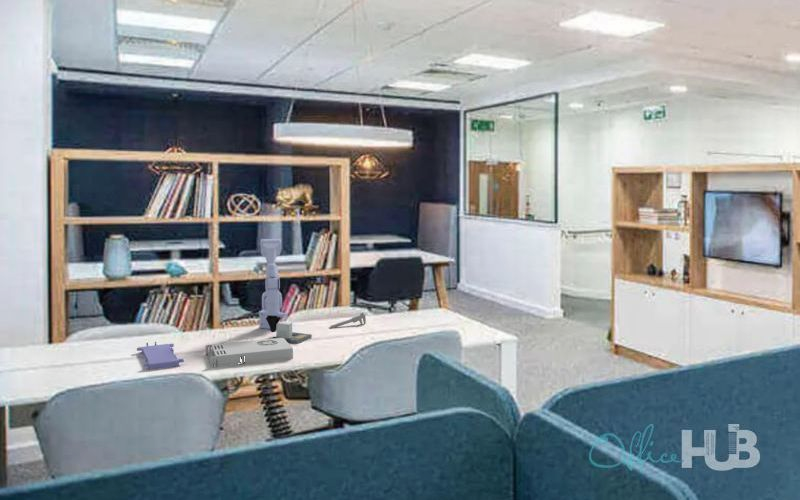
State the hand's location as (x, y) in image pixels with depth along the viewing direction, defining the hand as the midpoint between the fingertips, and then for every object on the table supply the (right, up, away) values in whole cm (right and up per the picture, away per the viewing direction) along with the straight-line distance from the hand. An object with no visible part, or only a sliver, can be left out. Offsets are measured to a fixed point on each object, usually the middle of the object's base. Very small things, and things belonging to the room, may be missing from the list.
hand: (273, 331), depth 301 cm
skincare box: (+6, -3, -3) cm, 7 cm away
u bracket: (+9, -3, -4) cm, 11 cm away
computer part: (-40, -7, -36) cm, 54 cm away
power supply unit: (-4, -7, -33) cm, 34 cm away
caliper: (+33, 0, +22) cm, 40 cm away
